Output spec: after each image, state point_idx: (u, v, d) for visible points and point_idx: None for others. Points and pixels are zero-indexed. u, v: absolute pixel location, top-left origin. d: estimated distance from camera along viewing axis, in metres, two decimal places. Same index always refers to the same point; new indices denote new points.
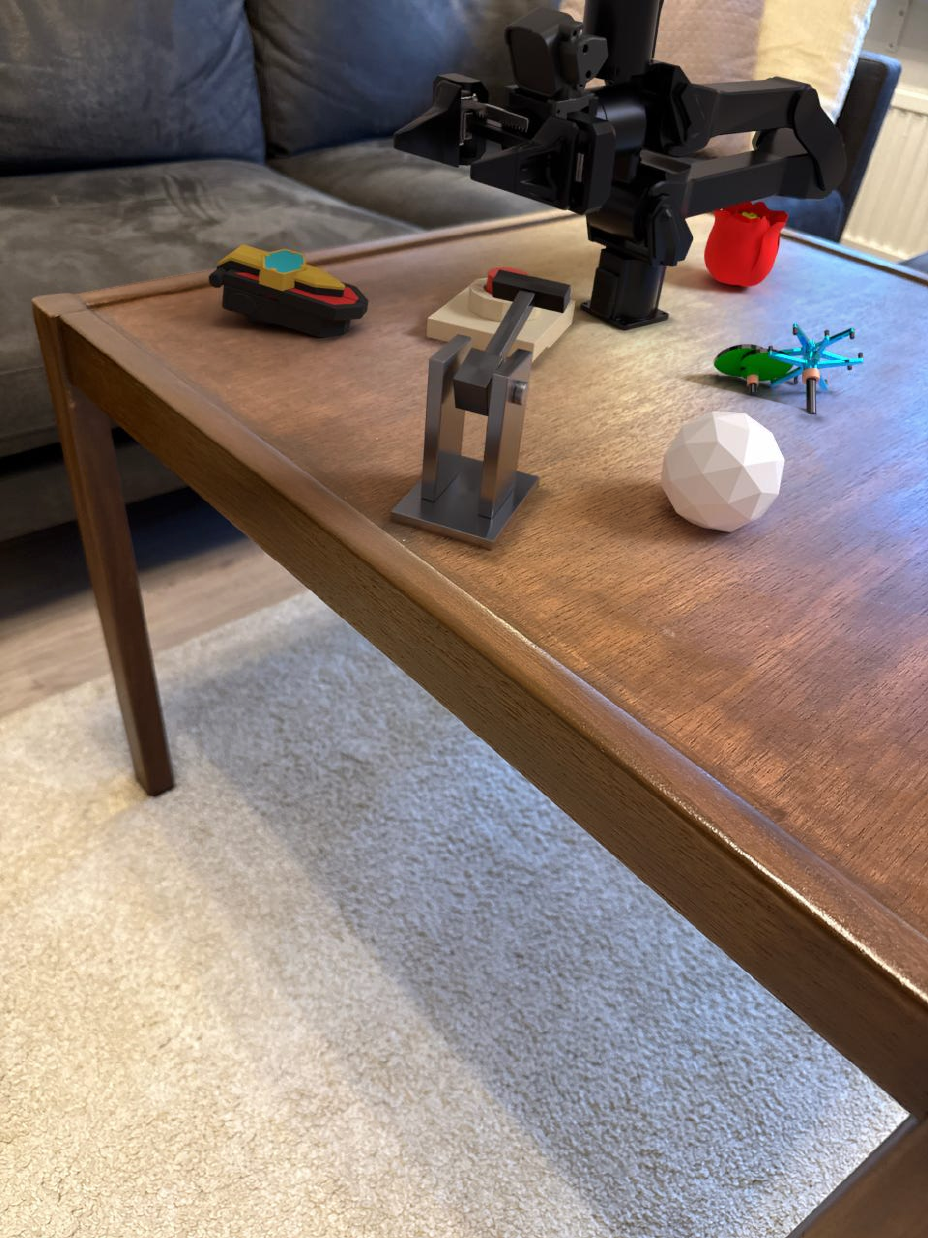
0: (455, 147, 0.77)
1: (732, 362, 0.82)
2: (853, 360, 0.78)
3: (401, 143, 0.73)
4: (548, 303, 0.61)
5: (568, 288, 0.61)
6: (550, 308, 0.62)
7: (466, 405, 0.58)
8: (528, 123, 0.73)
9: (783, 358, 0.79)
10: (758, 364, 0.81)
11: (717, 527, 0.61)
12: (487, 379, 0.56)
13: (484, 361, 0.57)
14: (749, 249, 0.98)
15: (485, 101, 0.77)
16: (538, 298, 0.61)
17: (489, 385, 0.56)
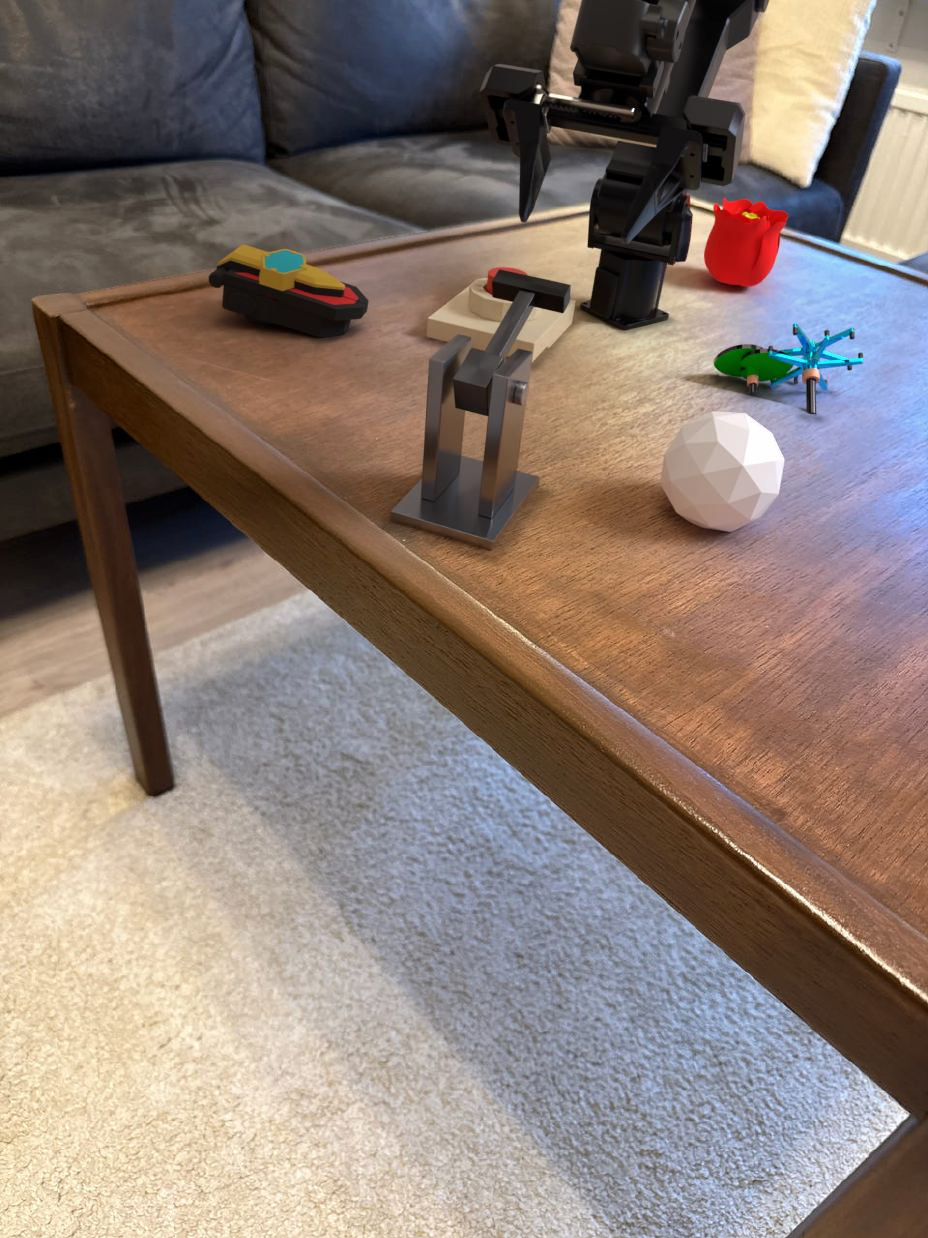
0: (547, 150, 0.71)
1: (732, 362, 0.82)
2: (853, 360, 0.78)
3: (527, 214, 0.69)
4: (548, 303, 0.61)
5: (568, 288, 0.61)
6: (550, 308, 0.62)
7: (466, 405, 0.58)
8: (633, 113, 0.67)
9: (783, 358, 0.79)
10: (758, 364, 0.81)
11: (717, 527, 0.61)
12: (487, 379, 0.56)
13: (484, 361, 0.57)
14: (749, 249, 0.98)
15: (542, 81, 0.68)
16: (538, 298, 0.61)
17: (489, 385, 0.56)
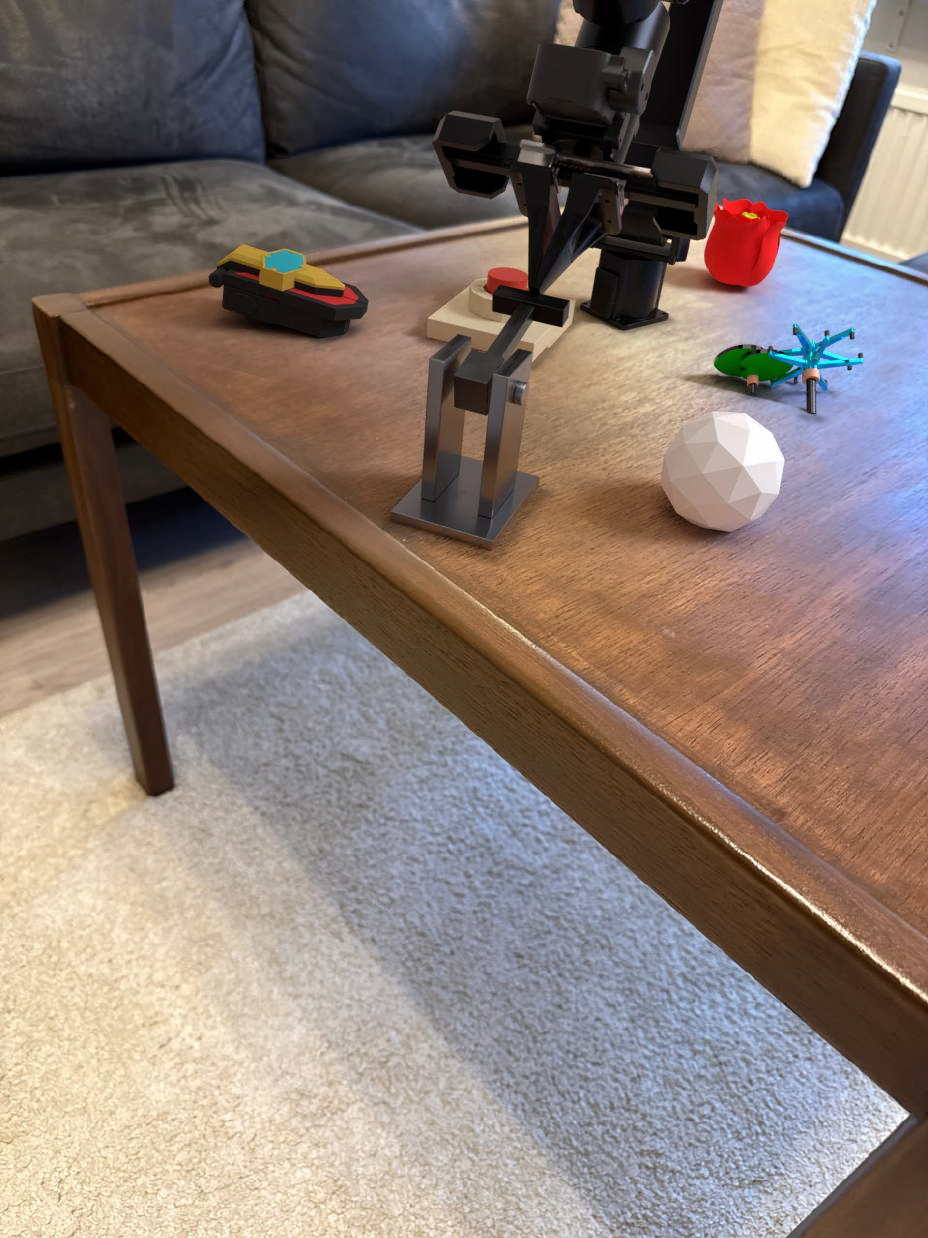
0: (557, 212, 0.65)
1: (733, 362, 0.82)
2: (853, 360, 0.78)
3: None
4: (547, 317, 0.62)
5: (567, 303, 0.62)
6: (549, 322, 0.62)
7: (465, 404, 0.57)
8: (653, 175, 0.61)
9: (783, 358, 0.79)
10: (758, 364, 0.81)
11: (717, 527, 0.61)
12: (488, 376, 0.56)
13: (485, 360, 0.57)
14: (749, 249, 0.98)
15: (500, 129, 0.63)
16: (538, 312, 0.62)
17: (490, 382, 0.56)
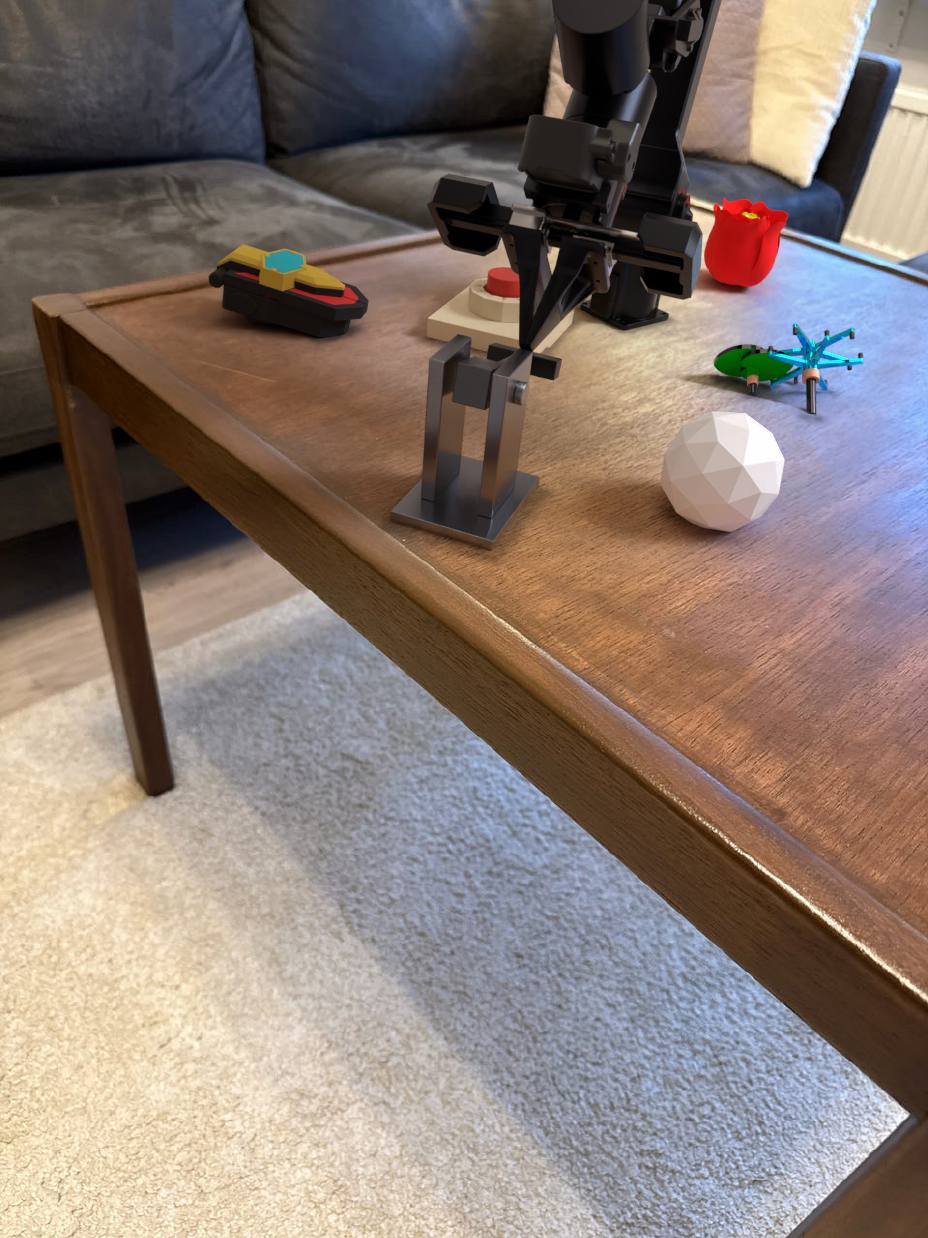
0: (548, 271, 0.67)
1: (732, 362, 0.82)
2: (853, 360, 0.78)
3: None
4: (540, 369, 0.64)
5: (560, 359, 0.65)
6: (541, 375, 0.65)
7: (464, 396, 0.57)
8: None
9: (783, 358, 0.79)
10: (758, 364, 0.81)
11: (717, 527, 0.61)
12: (491, 368, 0.56)
13: (488, 362, 0.58)
14: (749, 249, 0.98)
15: (493, 192, 0.65)
16: (531, 364, 0.65)
17: None
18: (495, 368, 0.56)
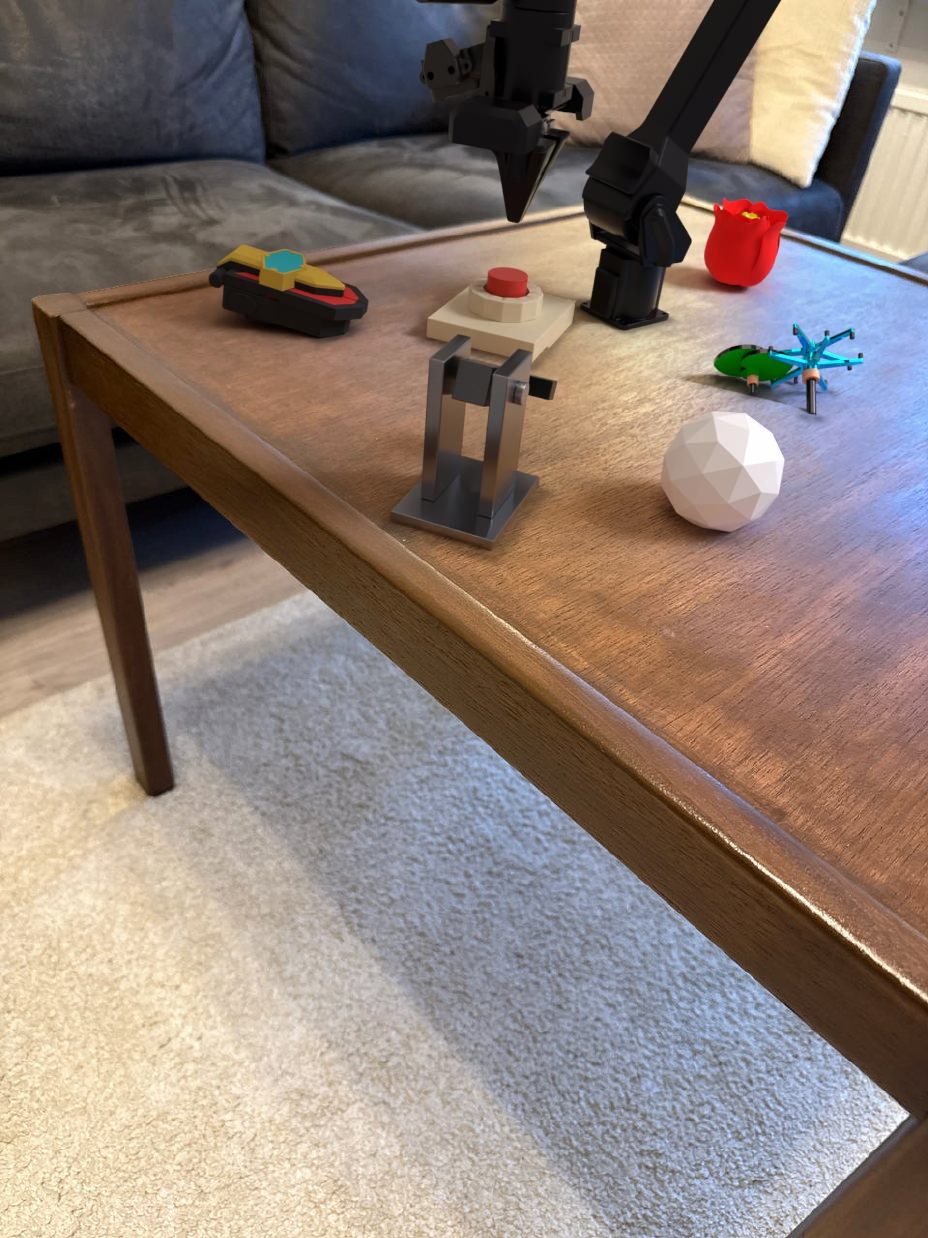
0: None
1: (732, 362, 0.82)
2: (853, 360, 0.78)
3: None
4: (536, 388, 0.65)
5: (555, 381, 0.65)
6: (536, 394, 0.65)
7: (464, 393, 0.57)
8: None
9: (783, 358, 0.79)
10: (758, 364, 0.81)
11: (717, 527, 0.61)
12: (493, 365, 0.56)
13: (488, 363, 0.58)
14: (749, 249, 0.98)
15: None
16: None
17: (494, 370, 0.56)
18: (496, 366, 0.57)
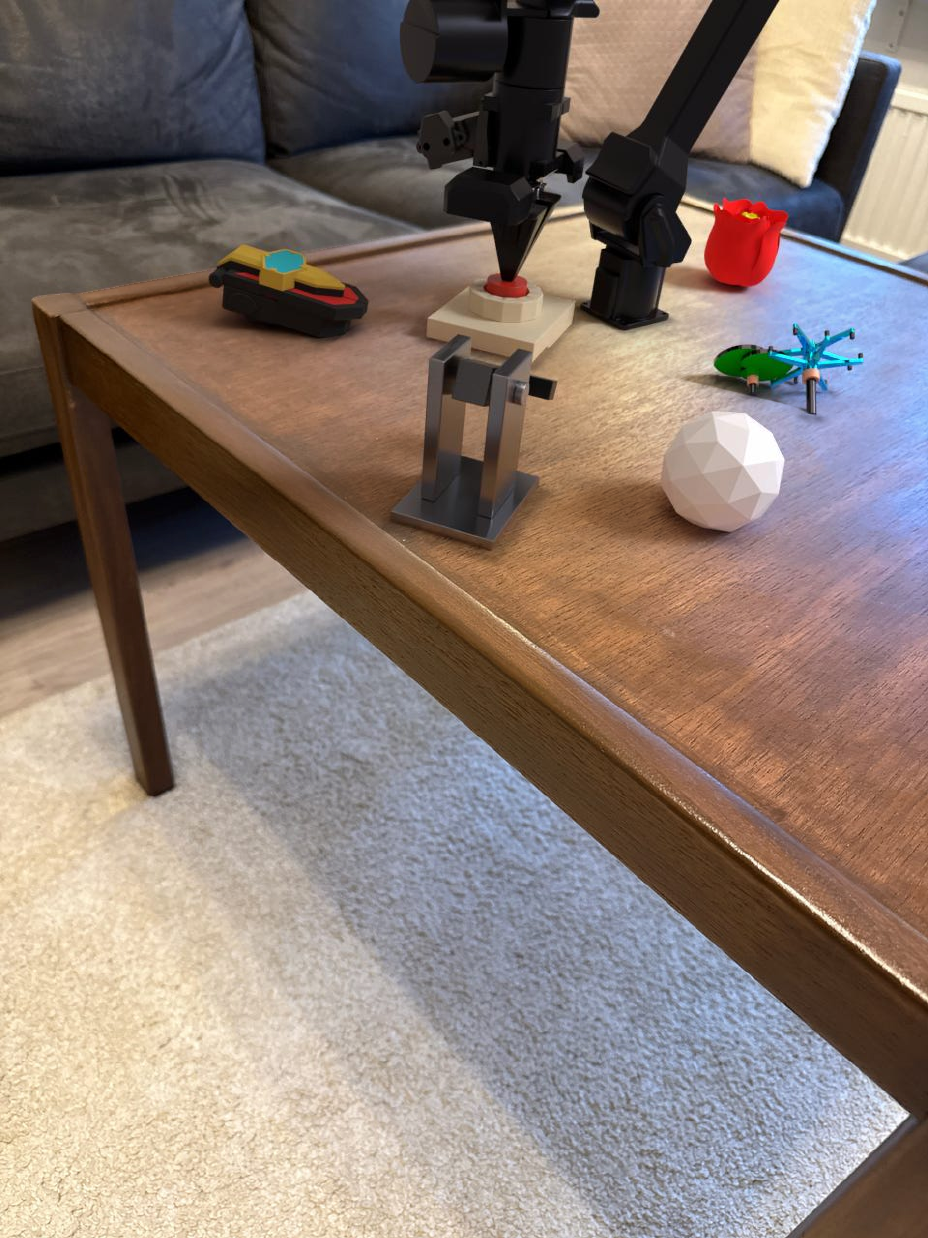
0: None
1: (733, 362, 0.82)
2: (853, 360, 0.78)
3: None
4: (536, 388, 0.65)
5: (555, 381, 0.65)
6: (536, 394, 0.65)
7: (464, 393, 0.57)
8: None
9: (783, 358, 0.79)
10: (758, 364, 0.81)
11: (717, 527, 0.61)
12: (493, 365, 0.56)
13: (488, 363, 0.58)
14: (749, 249, 0.98)
15: None
16: None
17: (494, 370, 0.56)
18: (496, 366, 0.57)
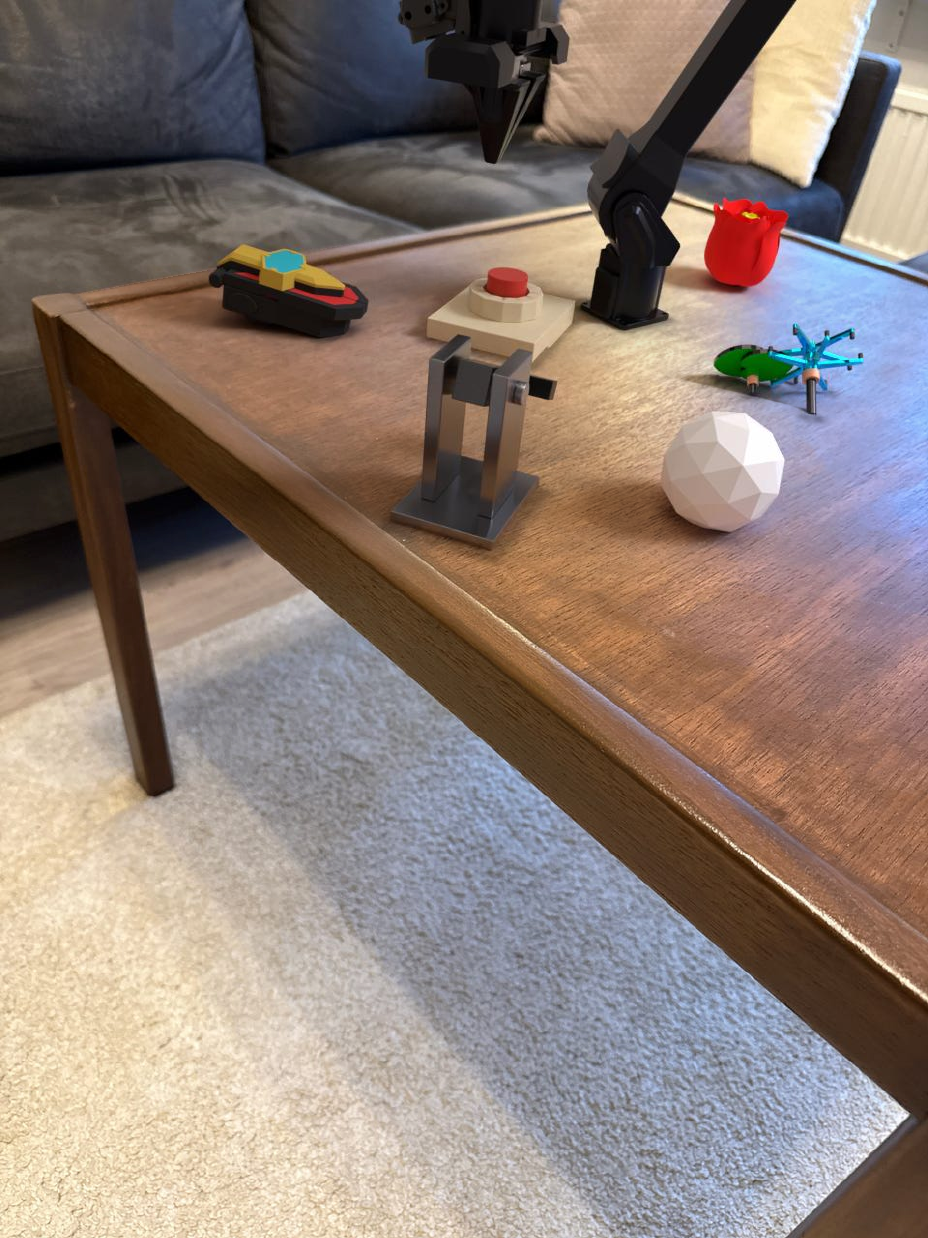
0: None
1: (732, 362, 0.82)
2: (853, 360, 0.78)
3: None
4: (536, 388, 0.65)
5: (555, 381, 0.65)
6: (536, 394, 0.65)
7: (464, 393, 0.57)
8: None
9: (783, 358, 0.79)
10: (758, 364, 0.81)
11: (717, 527, 0.61)
12: (493, 365, 0.56)
13: (488, 363, 0.58)
14: (749, 249, 0.98)
15: None
16: None
17: (494, 370, 0.56)
18: (496, 366, 0.57)
